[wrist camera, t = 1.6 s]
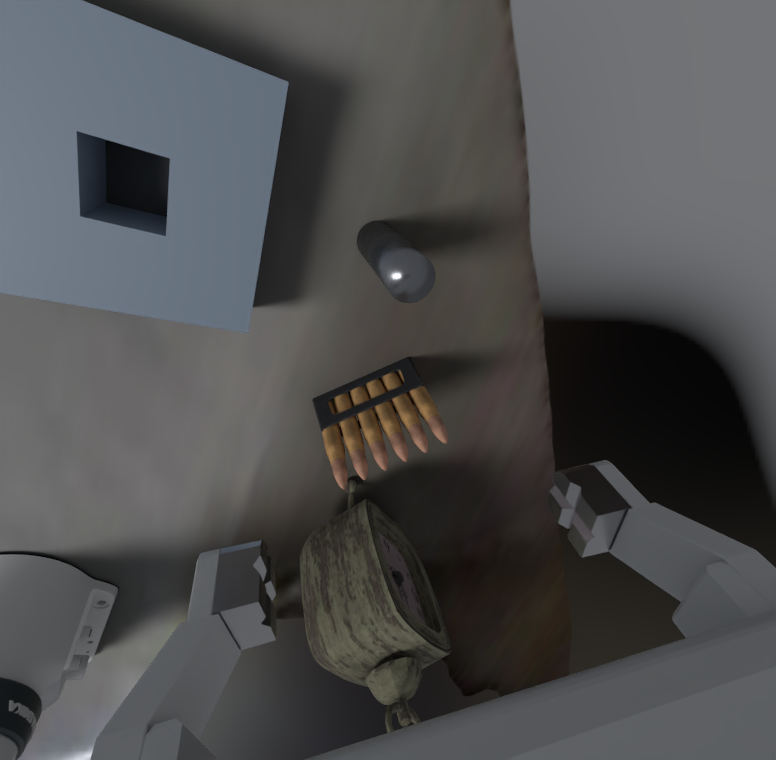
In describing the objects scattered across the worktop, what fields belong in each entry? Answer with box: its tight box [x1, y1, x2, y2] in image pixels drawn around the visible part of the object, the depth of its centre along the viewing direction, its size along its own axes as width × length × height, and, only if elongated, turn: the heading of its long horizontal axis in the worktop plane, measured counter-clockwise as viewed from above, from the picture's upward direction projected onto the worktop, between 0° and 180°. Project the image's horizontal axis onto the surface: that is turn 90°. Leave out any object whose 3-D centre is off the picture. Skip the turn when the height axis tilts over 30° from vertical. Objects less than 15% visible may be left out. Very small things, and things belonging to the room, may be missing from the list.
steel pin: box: [357, 221, 435, 303], centre depth 30 cm, size 3×3×10 cm
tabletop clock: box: [300, 479, 452, 733], centre depth 41 cm, size 14×9×25 cm, turn 30°
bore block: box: [0, 0, 289, 333], centre depth 26 cm, size 16×16×5 cm
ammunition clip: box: [313, 357, 448, 489], centre depth 37 cm, size 11×2×12 cm, turn 109°
